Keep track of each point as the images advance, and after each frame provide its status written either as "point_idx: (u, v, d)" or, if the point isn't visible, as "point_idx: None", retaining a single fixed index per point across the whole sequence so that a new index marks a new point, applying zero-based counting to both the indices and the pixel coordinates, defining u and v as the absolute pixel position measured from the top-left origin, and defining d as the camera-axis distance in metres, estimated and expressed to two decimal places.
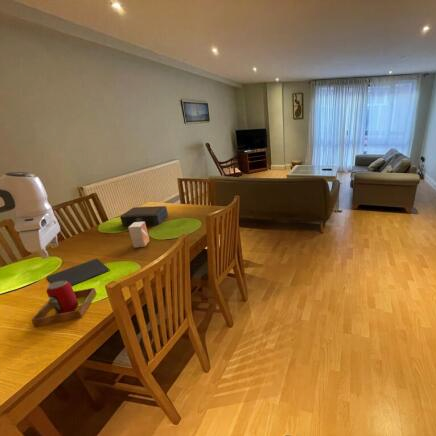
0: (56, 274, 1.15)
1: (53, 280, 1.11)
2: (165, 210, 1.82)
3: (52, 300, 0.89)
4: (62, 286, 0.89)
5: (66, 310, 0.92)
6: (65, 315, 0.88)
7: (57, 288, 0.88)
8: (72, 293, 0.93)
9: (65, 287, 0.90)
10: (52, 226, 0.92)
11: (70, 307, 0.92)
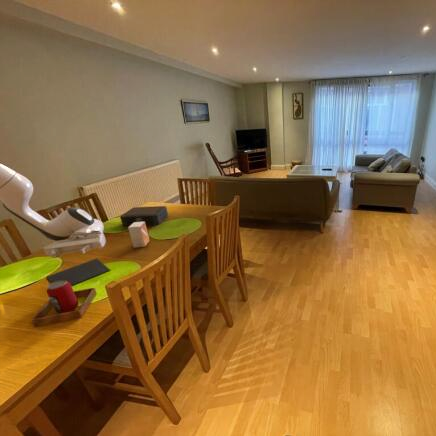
0: (56, 274, 1.15)
1: (53, 280, 1.11)
2: (165, 210, 1.82)
3: (52, 300, 0.89)
4: (62, 286, 0.89)
5: (66, 310, 0.92)
6: (65, 315, 0.88)
7: (57, 288, 0.88)
8: (72, 293, 0.93)
9: (65, 287, 0.90)
10: None
11: (70, 307, 0.92)
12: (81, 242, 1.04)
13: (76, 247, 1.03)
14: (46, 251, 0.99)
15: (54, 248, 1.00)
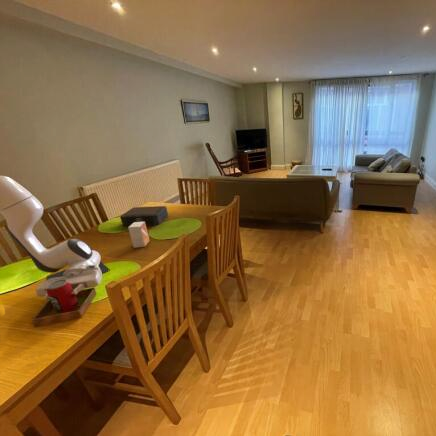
0: (56, 274, 1.15)
1: None
2: (165, 210, 1.82)
3: (52, 300, 0.89)
4: (62, 286, 0.89)
5: (66, 310, 0.92)
6: (65, 315, 0.88)
7: (57, 288, 0.88)
8: None
9: (65, 287, 0.90)
10: None
11: (70, 307, 0.92)
12: (76, 280, 0.97)
13: None
14: (38, 292, 0.92)
15: (46, 288, 0.93)
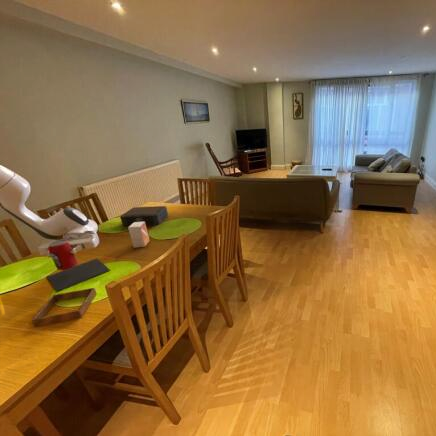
0: (56, 274, 1.15)
1: (53, 280, 1.11)
2: (165, 210, 1.82)
3: (53, 257, 0.98)
4: (62, 244, 0.99)
5: (66, 267, 1.01)
6: (65, 315, 0.88)
7: (57, 246, 0.98)
8: None
9: (65, 245, 1.00)
10: None
11: (69, 264, 1.02)
12: (74, 242, 1.06)
13: None
14: (40, 251, 1.02)
15: None
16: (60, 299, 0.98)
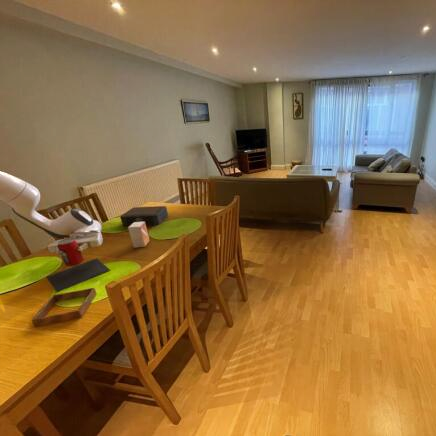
0: (56, 274, 1.15)
1: (53, 280, 1.11)
2: (165, 210, 1.82)
3: (62, 254, 1.08)
4: (70, 242, 1.09)
5: (73, 263, 1.11)
6: (65, 315, 0.88)
7: (66, 244, 1.08)
8: None
9: (72, 243, 1.10)
10: None
11: (76, 261, 1.12)
12: (81, 240, 1.16)
13: None
14: (50, 248, 1.12)
15: None
16: (60, 299, 0.98)
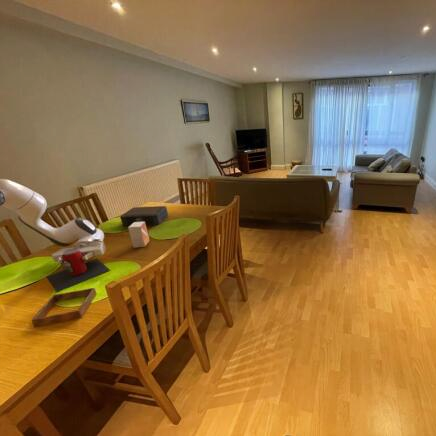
0: (56, 274, 1.15)
1: (53, 280, 1.11)
2: (165, 210, 1.82)
3: (66, 264, 1.10)
4: (74, 253, 1.11)
5: (77, 273, 1.13)
6: (65, 315, 0.88)
7: (70, 254, 1.10)
8: (82, 259, 1.14)
9: (77, 253, 1.12)
10: None
11: (80, 271, 1.14)
12: (84, 250, 1.18)
13: None
14: (53, 258, 1.14)
15: (60, 255, 1.14)
16: (60, 299, 0.98)
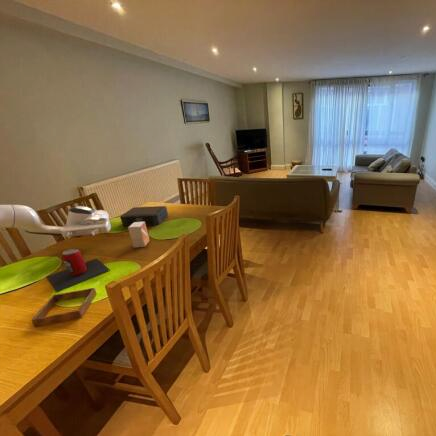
0: (56, 274, 1.15)
1: (53, 280, 1.11)
2: (165, 210, 1.82)
3: (66, 264, 1.10)
4: (74, 253, 1.11)
5: (77, 273, 1.13)
6: (65, 315, 0.88)
7: (70, 254, 1.10)
8: (82, 259, 1.14)
9: (77, 253, 1.12)
10: None
11: (80, 271, 1.14)
12: (91, 226, 1.26)
13: (87, 230, 1.26)
14: (63, 233, 1.22)
15: (69, 231, 1.23)
16: (60, 299, 0.98)
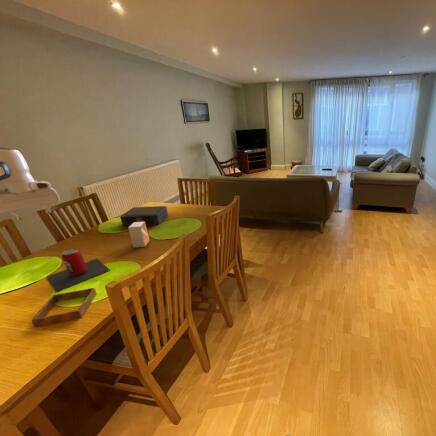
0: (56, 274, 1.15)
1: (53, 280, 1.11)
2: (165, 210, 1.82)
3: (66, 264, 1.10)
4: (74, 253, 1.11)
5: (77, 273, 1.13)
6: (65, 315, 0.88)
7: (70, 254, 1.10)
8: (82, 259, 1.14)
9: (77, 253, 1.12)
10: None
11: (80, 270, 1.14)
12: (39, 202, 1.07)
13: None
14: None
15: (11, 211, 1.01)
16: (60, 299, 0.98)
